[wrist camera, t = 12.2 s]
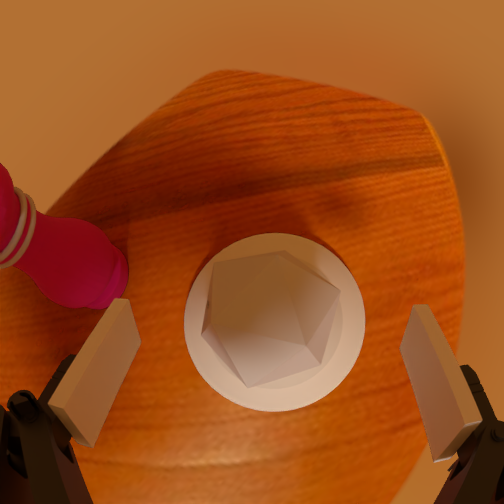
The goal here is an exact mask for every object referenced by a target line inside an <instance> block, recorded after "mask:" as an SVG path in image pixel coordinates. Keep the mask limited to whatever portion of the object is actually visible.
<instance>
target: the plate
mask: <svg viewBox="0 0 504 504" xmlns="http://www.w3.org/2000/svg"><path fill="white" fill-rule="evenodd" d="M282 250H286V251H287V252H289V253H290V254H291V255H293V256H294V257H295V258H297V259H298V260H300V261H301V262H302V263H304V264H305V265H306V266H308V267H309V268H310V269H312V270H313V271H315V272H316V273H317V274H319V275H320V276H321V277H323V278H324V279H325V280H327V281H328V282H330V283H331V284H332V285H334V286H335V287H336V288H338V289H339V290H340V291H341V293H340V297H339V301H338V305H337V309H336V312H335V316H334V320H333V324H332V327H331V331H330V335H329V338H328V342H327V346H326V349H325V352H324V356H323V359H322V363H321V365H319V366H317V367H314V368H311V369H308V370H305V371H302V372H299V373H296V374H293V375H290V376H287V377H284V378H281V379H278V380H275V381H271V382H268V383H265V384H261V385H258V386H255V387H251V388H247V387H246V386H245V385H244V384H243V383H242V381H241V380H240V379H239V378H238V377H237V376H236V375H235V374H234V373H233V372H232V370H231V369H230V368H229V367H228V366H227V365H226V364H225V363H224V362H223V360H222V359H221V358H220V357H219V356H218V355H217V354H216V353H215V351H214V350H213V349H212V348H211V347H210V346H209V344H208V343H207V342H206V341H205V340H204V339H203V337H202V336H201V332H202V326H203V320H204V314H205V308H206V303H207V297H208V292H209V286H210V281H211V275H212V270H213V264H214V262H219V261H225V260H231V259H236V258H242V257H248V256H253V255H259V254H265V253H271V252H276V251H282ZM184 330H185V339H186V343H187V347H188V351H189V353H190V356H191V358H192V361H193V363H194V364H195V366H196V368H197V370H198V371H199V373H200V374H201V375H202V377H203V378H204V379H205V381H206V382H207V383H208V384H209V385H210V386H211V387H212V388H213V389H214V390H216V391H217V392H218V393H220V394H221V395H222V396H224V397H225V398H227V399H229V400H231V401H232V402H234V403H236V404H239V405H241V406H244V407H247V408H251V409H255V410H261V411H287V410H293V409H297V408H300V407H304V406H307V405H309V404H311V403H313V402H315V401H317V400H319V399H321V398H322V397H324V396H326V395H327V394H328V393H330V392H331V391H332V390H333V389H335V388H336V387H337V386H338V385H339V384H340V383H341V382H342V380H343V379H344V378H345V377H346V376H347V374H348V373H349V371H350V370H351V369H352V367H353V365H354V363H355V361H356V359H357V357H358V355H359V352H360V349H361V346H362V342H363V338H364V332H365V311H364V305H363V300H362V296H361V294H360V291H359V288H358V286H357V284H356V282H355V280H354V278H353V276H352V275H351V273H350V272H349V270H348V269H347V267H346V266H345V265H344V264H343V263H342V262H341V260H340V259H339V258H338V257H336V256H335V255H334V254H333V253H332V252H331V251H329V250H328V249H326V248H325V247H323V246H322V245H320V244H318V243H316V242H314V241H312V240H309V239H306V238H304V237H301V236H296V235H292V234H284V233H266V234H260V235H254V236H251V237H247V238H244V239H242V240H239V241H237V242H235V243H233V244H231V245H229V246H228V247H226V248H224V249H223V250H222V251H220V252H219V253H218V254H216V255H215V256H214V257H213V258H212V259H211V260H210V261H209V262H208V263H207V264H206V265H205V267H204V268H203V269H202V271H201V272H200V273H199V275H198V276H197V278H196V280H195V282H194V283H193V286H192V288H191V290H190V293H189V296H188V299H187V303H186V308H185V315H184Z"/></svg>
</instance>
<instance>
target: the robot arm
mask: <svg viewBox="0 0 504 504" xmlns="http://www.w3.org/2000/svg"><path fill="white" fill-rule="evenodd" d="M140 344H141V339H140V336H139V333H138V330H137V326H136V323H135V320H134V316H133V313H132V309H131V306H130V302H129V299H120V298H115V299H114V300H113V302H112V303H111V304H110V306H109V307H108V309H107V310H106V312H105V313H104V315H103V316H102V318H101V319H100V321H99V322H98V324H97V325H96V327H95V328H94V330H93V331H92V333H91V334H90V336H89V337H88V339H87V340H86V342H85V343H84V345H83V346H82V348H81V350H80V351H79V353H78V354H77V355H72V354H70V355H69V356H68V357H67V358H65V359H64V360H63V361H62V362H61V364H60V365H59V367H58V368H57V371H56V372H55V373H54V374H53V376H52V379H50V381H49V382H48V384H47V386H46V387H45V389H44V391H43V392H42V394H41V395H40V397H39V399H38V400H37V399H36V398H35V396H34V395H33V394H32V393H31V392H30V391H28V390H20V391H17V392H15V393H14V394H13V395H12V396H11V397H10V398H9V400H8V403H7V408H8V409H9V410H10V411H6V410H5V409H4V408H3V406H2V405H0V504H93V501H92V499H91V497H90V494H89V492H88V489H87V487H86V484H85V482H84V479H83V477H82V474H81V471H80V469H79V466H78V463H77V460H76V457H75V454H74V451H73V448H72V446H71V444H70V442H69V441H70V439H71V437H73V438H74V439H75V441H76V442H77V443H78V444H81V445H84V446H88V447H91V448H93V447H94V445H95V442H96V440H97V438H98V435H99V433H100V431H101V428H102V426H103V424H104V422H105V419H106V417H107V415H108V413H109V410H110V408H111V406H112V404H113V401H114V399H115V397H116V395H117V393H118V391H119V388H120V386H121V384H122V382H123V380H124V378H125V375H126V373H127V371H128V369H129V367H130V365H131V363H132V361H133V359H134V357H135V354H136V352H137V350H138V348H139V346H140ZM399 349H400V352H401V355H402V357H403V360H404V363H405V366H406V369H407V372H408V375H409V378H410V381H411V384H412V387H413V391H414V394H415V397H416V400H417V403H418V407H419V410H420V413H421V417H422V420H423V424H424V427H425V431H426V435H427V438H428V442H429V446H430V449H431V454H432V458H433V462H438V461H442V460H447V459H450V458H451V457H452V456H453V455H454V454H455V453H456V452H457V454H458V457H459V458H458V459H457V460H456V461H455V462H454V463H453V464H452V466H451V467H450V468H449V469H448V471H450V470H451V469H452V470H451V472H450V474H449V477H448V478H447V480H446V482H445V484H444V486H443V488H442V490H441V491H440V493H439V495H438V497H437V498H436V500H435V502H434V504H504V422H502V421H498V420H497V418H496V416H495V414H494V411H493V409H492V407H491V405H490V403H489V400H488V398H487V396H486V393H485V392H484V389H483V387H482V385H481V384H480V381H479V378H478V376H477V374H476V372H475V371H474V370H473V369H472V368H471V367H469V365H462V366H459V364H458V362H457V360H456V358H455V356H454V354H453V352H452V350H451V348H450V346H449V344H448V342H447V340H446V338H445V336H444V334H443V332H442V330H441V328H440V326H439V324H438V323H437V321H436V319H435V317H434V315H433V313H432V311H431V310H430V308H429V306H428V304H421V305H413V308H412V311H411V314H410V318H409V321H408V324H407V327H406V330H405V333H404V337H403V340H402V343H401V345H400V348H399Z"/></svg>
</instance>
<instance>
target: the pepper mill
mask: <svg viewBox="0 0 504 504" xmlns="http://www.w3.org/2000/svg"><path fill="white" fill-rule="evenodd" d="M9 266H14V267H17V268H18V269H20V270H22V271H24V272H25V273H26V274H27V275H29V276H30V277H31V278H32V280H33V281H34V282H35V284H36V285H37V287H38V288H39V289H40V291H41V292H42V293H43V294H44V295H45V296H46V297H47V298H49V299H50V300H51V301H53V302H55V303H57V304H59V305H61V306H64V307H67V308H82V307H88V308H91V309H104V308H107V307H109V306H110V304H111V303H112V302H113V300H114V299H115V298H120V296H121V295H122V293H123V292H124V290H125V287H126V284H127V281H128V265H127V261H126V258H125V256H124V255H123V253H122V252H121V251H120V250H119V249H118V248H117V247H115V246H114V245H112V244H111V243H110V241H109V239H108V238H107V236H106V234H105V233H104V232H103V231H102V230H101V229H100V228H98V227H97V226H95V225H93V224H92V223H90V222H88V221H85V220H81V219H77V218H57V217H50V216H46V215H44V214H42V213H40V212H38V211H37V210H36V208H35V204H34V202H33V200H32V198H31V197H30V196H29V195H27V194H25V193H23V191H22V190H20V189H19V188H17V187H14V186H13V182H12V179H11V177H10V175H9V173H8V171H7V169H6V168H5V167H4V166H3V165H2V164H1V163H0V268H7V267H9Z"/></svg>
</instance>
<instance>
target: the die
mask: <svg viewBox="0 0 504 504" xmlns="http://www.w3.org/2000/svg"><path fill="white" fill-rule="evenodd" d="M340 293H341V291H340V290H339V289H338V288H336V287H335V286H334V285H332V284H331V283H330V282H328V281H327V280H325V279H324V278H323V277H321V276H320V275H319V274H317V273H316V272H315V271H313V270H312V269H310V268H309V267H308V266H306V265H305V264H304V263H302V262H301V261H300V260H298V259H297V258H295V257H294V256H293V255H291V254H290V253H289V252H287V251H286V250H282V251H276V252H271V253H265V254H259V255H253V256H248V257H242V258H236V259H231V260H225V261H219V262H214V264H213V270H212V275H211V281H210V286H209V292H208V297H207V303H206V308H205V314H204V320H203V326H202V332H201V336H202V337H203V339H204V340H205V341H206V342H207V343H208V344H209V346H210V347H211V348H212V349H213V350H214V351H215V353H216V354H217V355H218V356H219V357H220V358H221V359H222V360H223V362H224V363H225V364H226V365H227V366H228V367H229V368H230V369H231V370H232V372H233V373H234V374H235V375H236V376H237V377H238V378H239V379H240V380H241V381H242V383H243V384H244V385H245V386H246V387H247V388H251V387H255V386H258V385H261V384H265V383H268V382H271V381H275V380H278V379H281V378H284V377H287V376H290V375H293V374H296V373H299V372H302V371H305V370H308V369H311V368H314V367H317V366H319V365H321V363H322V359H323V356H324V352H325V349H326V346H327V342H328V338H329V335H330V331H331V327H332V324H333V320H334V316H335V312H336V309H337V305H338V301H339V297H340Z"/></svg>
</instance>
